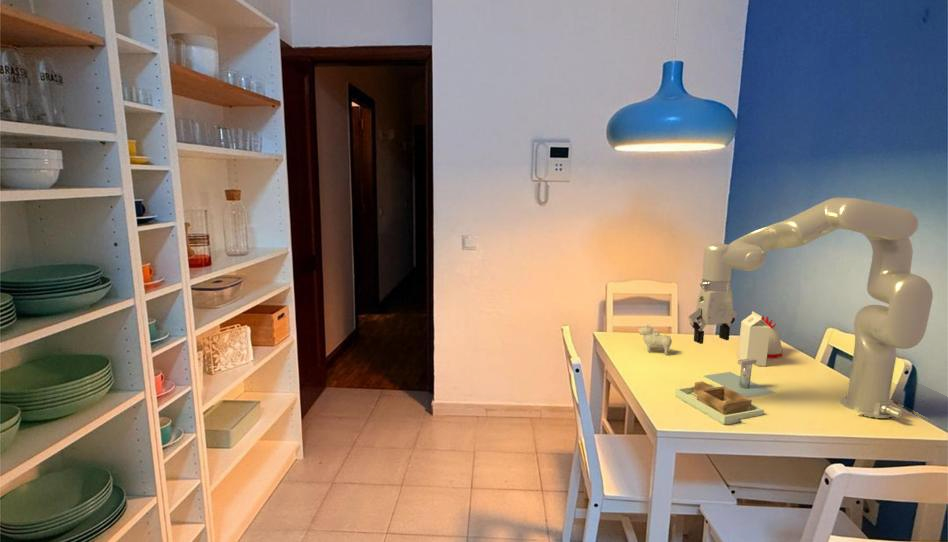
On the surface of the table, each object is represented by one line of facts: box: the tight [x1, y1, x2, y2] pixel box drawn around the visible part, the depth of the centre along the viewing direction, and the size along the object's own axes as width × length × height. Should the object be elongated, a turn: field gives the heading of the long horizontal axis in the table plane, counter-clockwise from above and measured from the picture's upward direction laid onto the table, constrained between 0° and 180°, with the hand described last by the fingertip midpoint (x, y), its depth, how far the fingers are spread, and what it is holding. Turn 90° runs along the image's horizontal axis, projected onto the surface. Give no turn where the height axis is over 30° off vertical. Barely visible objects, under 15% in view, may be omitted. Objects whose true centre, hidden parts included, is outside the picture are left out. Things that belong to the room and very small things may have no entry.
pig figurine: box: [637, 324, 673, 356], centre depth 192 cm, size 5×13×11 cm, turn 61°
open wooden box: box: [693, 380, 752, 415], centre depth 145 cm, size 15×10×4 cm, turn 18°
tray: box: [675, 383, 765, 426], centre depth 145 cm, size 19×14×2 cm
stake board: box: [703, 371, 777, 398], centre depth 159 cm, size 18×12×1 cm, turn 18°
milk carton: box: [737, 311, 770, 367], centre depth 179 cm, size 7×7×19 cm
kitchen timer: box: [761, 315, 783, 359], centre depth 192 cm, size 14×14×15 cm
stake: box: [737, 358, 756, 389], centre depth 156 cm, size 3×6×9 cm, turn 108°
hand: (711, 340), depth 146 cm, fingers open, 9 cm apart
